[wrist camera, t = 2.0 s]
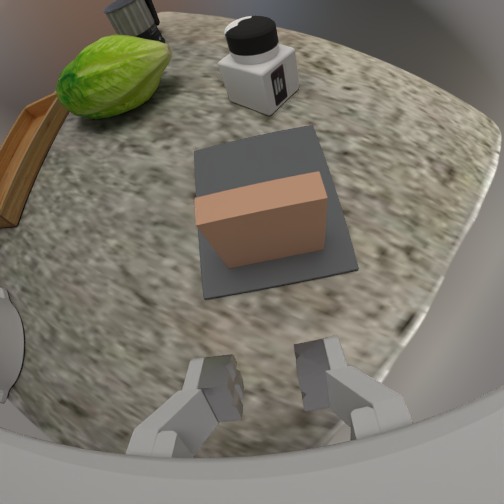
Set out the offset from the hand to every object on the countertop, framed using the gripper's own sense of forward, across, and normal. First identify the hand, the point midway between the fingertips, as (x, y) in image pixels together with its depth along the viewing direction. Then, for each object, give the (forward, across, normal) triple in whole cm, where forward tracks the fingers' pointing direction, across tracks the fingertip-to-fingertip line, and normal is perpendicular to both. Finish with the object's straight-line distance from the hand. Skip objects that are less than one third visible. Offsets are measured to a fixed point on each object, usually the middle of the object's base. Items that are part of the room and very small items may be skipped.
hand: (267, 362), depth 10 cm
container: (+40, -3, -12) cm, 42 cm away
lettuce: (+47, +21, -19) cm, 55 cm away
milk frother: (+63, +22, -35) cm, 76 cm away
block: (+22, 0, +5) cm, 23 cm away
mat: (+27, 0, +1) cm, 27 cm away
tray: (+44, +47, -16) cm, 67 cm away
